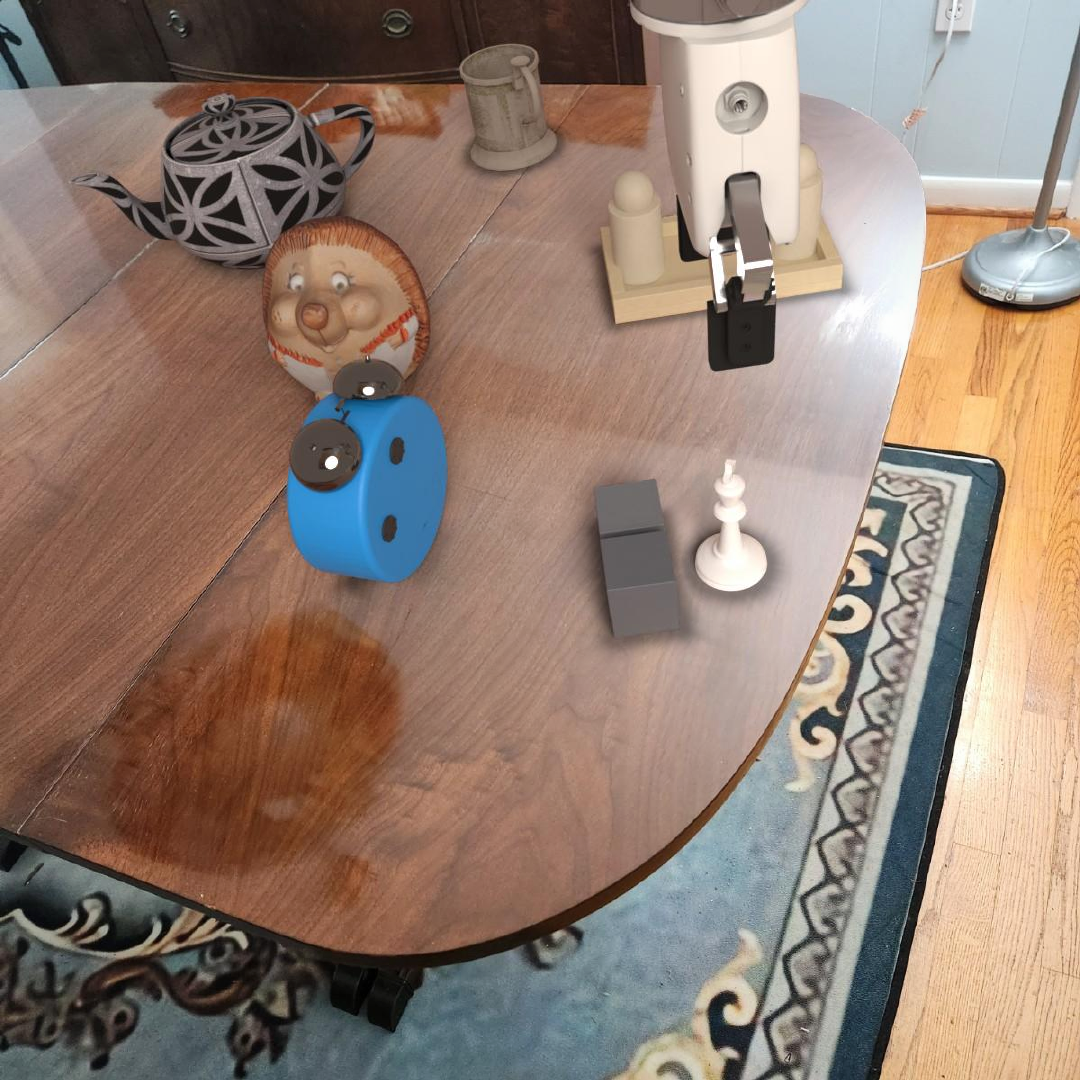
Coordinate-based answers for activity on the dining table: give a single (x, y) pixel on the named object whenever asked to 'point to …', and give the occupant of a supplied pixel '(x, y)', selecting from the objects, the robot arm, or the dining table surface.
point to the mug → (506, 107)
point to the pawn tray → (680, 287)
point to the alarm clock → (367, 477)
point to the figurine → (341, 301)
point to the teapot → (242, 177)
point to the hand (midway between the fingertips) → (723, 306)
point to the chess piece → (730, 540)
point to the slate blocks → (636, 559)
